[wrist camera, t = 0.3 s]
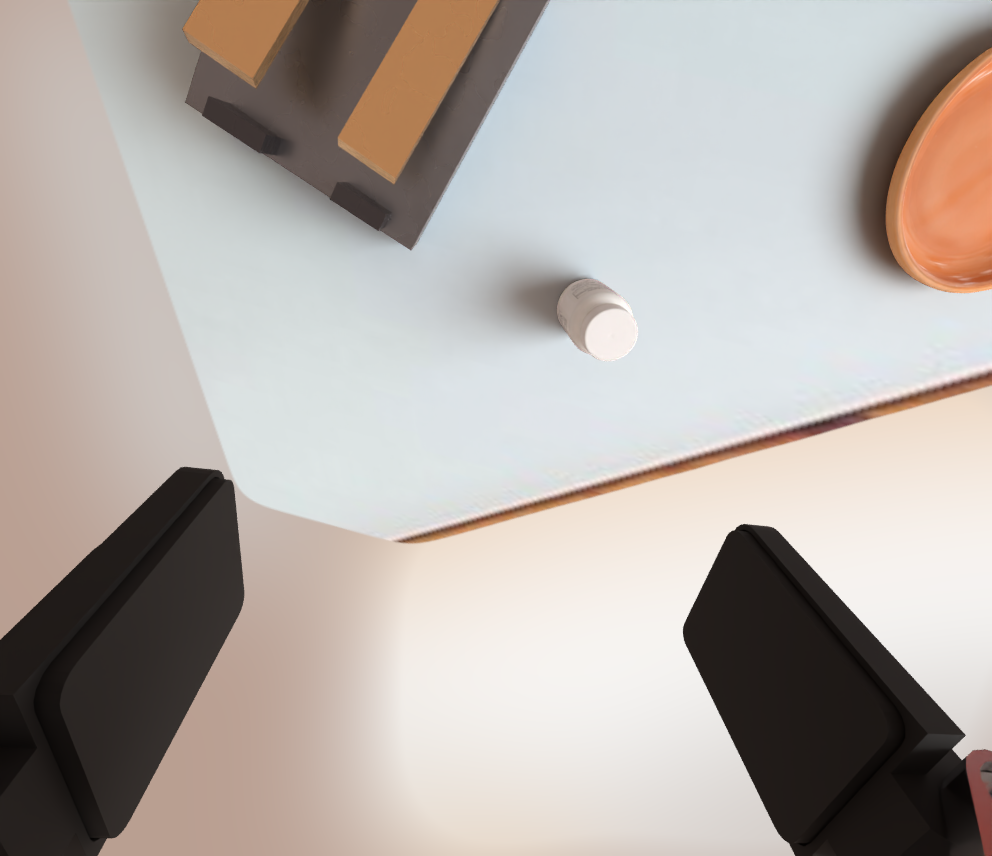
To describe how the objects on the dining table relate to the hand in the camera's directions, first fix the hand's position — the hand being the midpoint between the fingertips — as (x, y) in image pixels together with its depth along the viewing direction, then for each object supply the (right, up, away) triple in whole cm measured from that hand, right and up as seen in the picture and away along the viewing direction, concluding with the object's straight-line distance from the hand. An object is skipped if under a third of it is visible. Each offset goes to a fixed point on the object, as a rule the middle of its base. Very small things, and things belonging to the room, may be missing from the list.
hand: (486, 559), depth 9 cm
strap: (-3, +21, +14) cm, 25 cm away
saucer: (+35, +21, +25) cm, 47 cm away
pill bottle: (+7, +12, +27) cm, 31 cm away
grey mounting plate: (-7, +25, +19) cm, 32 cm away
